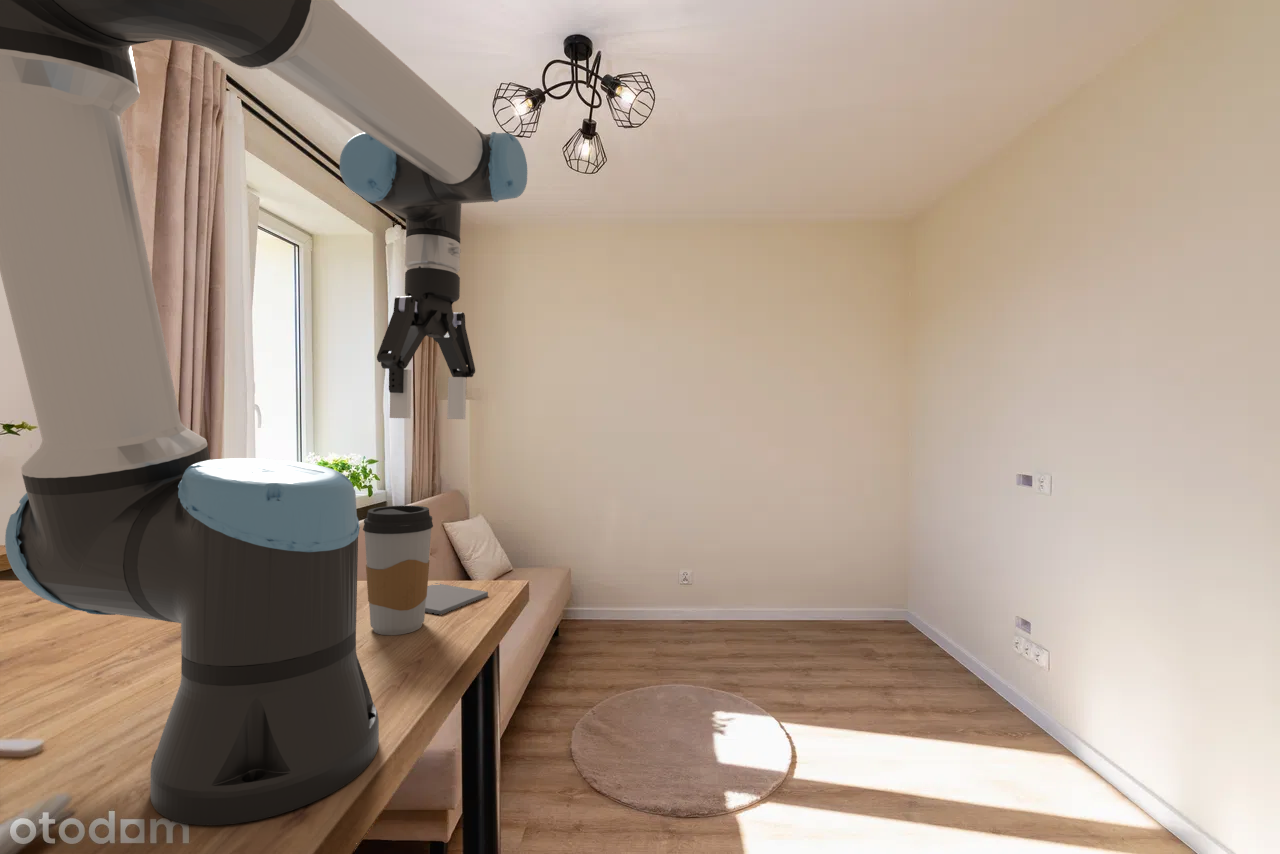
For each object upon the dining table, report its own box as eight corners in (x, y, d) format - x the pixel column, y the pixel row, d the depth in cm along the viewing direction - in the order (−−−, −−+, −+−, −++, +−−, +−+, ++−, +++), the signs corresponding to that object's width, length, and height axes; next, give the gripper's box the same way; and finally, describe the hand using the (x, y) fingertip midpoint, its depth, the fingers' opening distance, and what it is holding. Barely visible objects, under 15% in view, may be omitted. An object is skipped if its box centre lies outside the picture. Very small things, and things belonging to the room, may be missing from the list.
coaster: (440, 615, 84) (440, 610, 84) (385, 604, 88) (385, 600, 88) (487, 595, 93) (487, 591, 93) (436, 587, 97) (436, 583, 97)
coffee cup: (418, 612, 85) (419, 503, 85) (442, 629, 79) (443, 511, 78) (353, 624, 80) (354, 508, 80) (373, 644, 73) (374, 517, 73)
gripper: (399, 246, 77) (396, 418, 77) (498, 289, 101) (496, 419, 101) (348, 249, 79) (346, 417, 79) (457, 290, 103) (455, 419, 103)
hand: (430, 419), depth 90 cm, fingers open, 13 cm apart
